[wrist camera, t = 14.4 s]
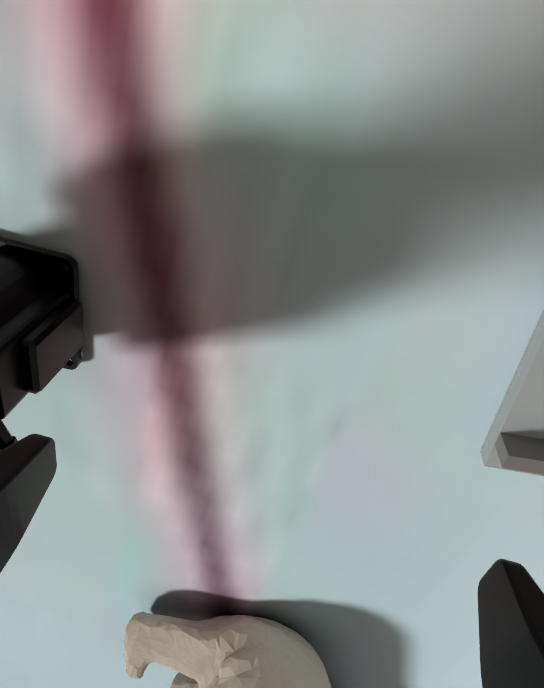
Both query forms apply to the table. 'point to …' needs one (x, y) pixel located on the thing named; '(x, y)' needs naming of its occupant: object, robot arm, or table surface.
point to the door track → (521, 416)
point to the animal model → (223, 652)
